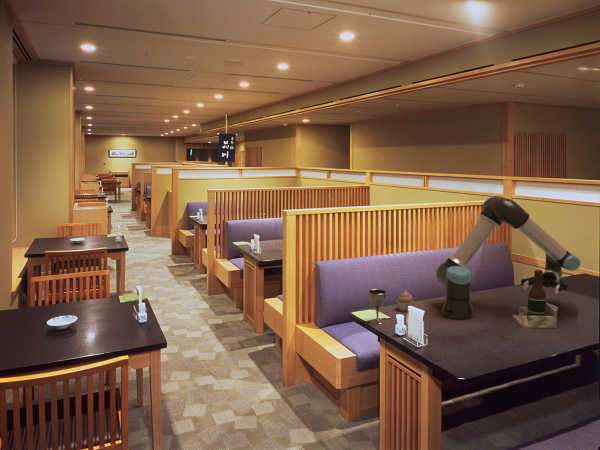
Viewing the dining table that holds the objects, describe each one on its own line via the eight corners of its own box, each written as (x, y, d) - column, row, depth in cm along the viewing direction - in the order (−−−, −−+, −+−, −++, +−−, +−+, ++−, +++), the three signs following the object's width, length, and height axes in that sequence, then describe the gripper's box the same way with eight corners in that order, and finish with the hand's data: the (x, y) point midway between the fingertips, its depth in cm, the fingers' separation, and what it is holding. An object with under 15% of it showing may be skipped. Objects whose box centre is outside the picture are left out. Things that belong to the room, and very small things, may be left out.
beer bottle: (547, 323, 219) (550, 272, 215) (529, 322, 220) (531, 272, 217) (542, 317, 226) (545, 268, 222) (524, 316, 228) (527, 268, 224)
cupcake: (410, 306, 251) (411, 288, 249) (417, 312, 242) (417, 293, 240) (393, 307, 250) (394, 289, 248) (399, 313, 240) (399, 294, 239)
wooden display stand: (521, 327, 218) (522, 310, 216) (512, 317, 231) (513, 300, 230) (556, 328, 216) (557, 310, 215) (545, 317, 229) (546, 301, 228)
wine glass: (381, 325, 224) (382, 294, 222) (366, 322, 229) (366, 292, 226) (388, 320, 231) (388, 290, 229) (373, 317, 235) (373, 288, 233)
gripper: (576, 289, 232) (569, 300, 216) (522, 282, 248) (511, 292, 231) (577, 274, 231) (570, 285, 215) (522, 268, 246) (512, 277, 230)
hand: (540, 288), depth 223 cm, fingers open, 13 cm apart
